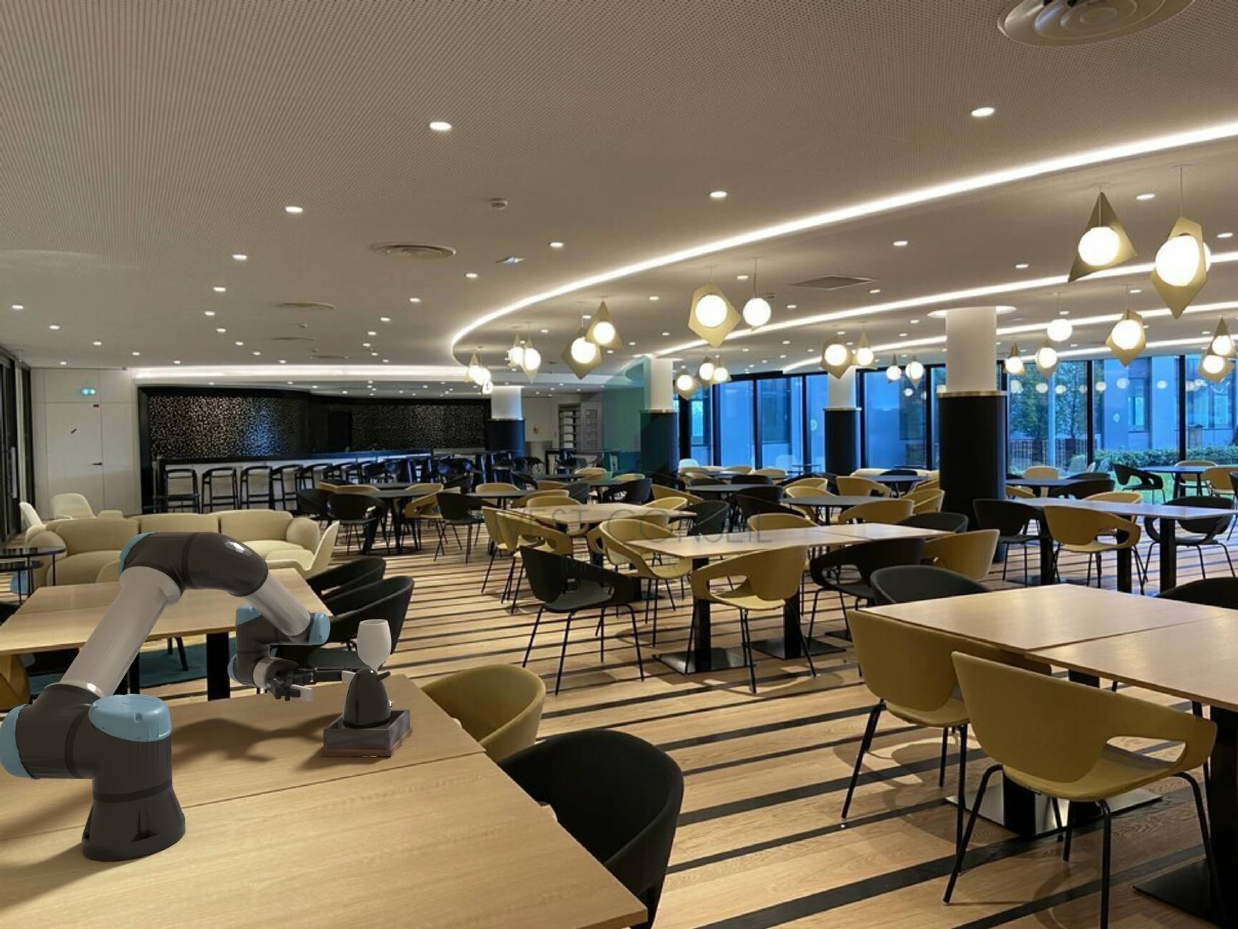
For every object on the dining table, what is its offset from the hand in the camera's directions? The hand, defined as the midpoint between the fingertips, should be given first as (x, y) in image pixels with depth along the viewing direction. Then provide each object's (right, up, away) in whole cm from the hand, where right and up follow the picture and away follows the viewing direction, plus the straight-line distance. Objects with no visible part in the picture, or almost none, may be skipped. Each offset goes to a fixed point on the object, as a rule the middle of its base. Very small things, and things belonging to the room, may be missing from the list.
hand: (337, 687), depth 199 cm
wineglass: (+2, -11, +23) cm, 26 cm away
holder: (+8, -11, -5) cm, 15 cm away
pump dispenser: (+8, -10, -5) cm, 14 cm away
